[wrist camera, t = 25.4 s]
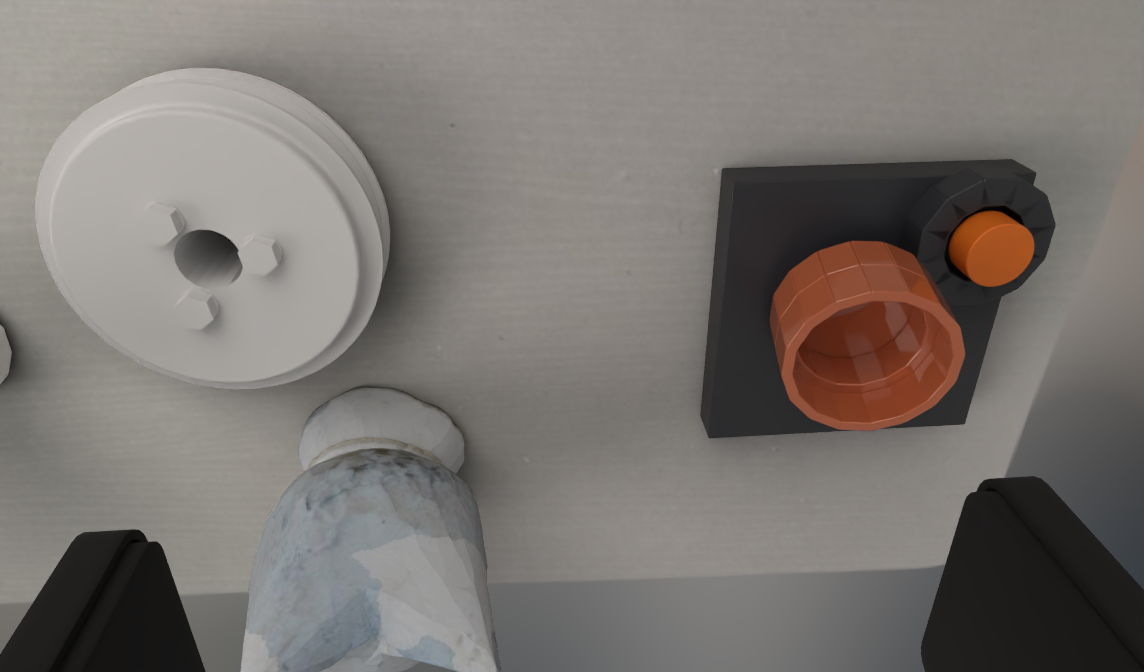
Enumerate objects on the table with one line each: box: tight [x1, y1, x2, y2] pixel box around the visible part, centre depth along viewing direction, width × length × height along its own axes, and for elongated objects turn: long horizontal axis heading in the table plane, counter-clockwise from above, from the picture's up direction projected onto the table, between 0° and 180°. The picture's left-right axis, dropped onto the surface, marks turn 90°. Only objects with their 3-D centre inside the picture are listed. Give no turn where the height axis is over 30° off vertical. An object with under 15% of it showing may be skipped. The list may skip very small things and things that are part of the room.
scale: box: [700, 159, 1055, 438], centre depth 37 cm, size 13×13×4 cm
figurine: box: [240, 387, 501, 672], centre depth 34 cm, size 10×9×15 cm
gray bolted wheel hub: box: [35, 68, 390, 389], centre depth 32 cm, size 13×13×5 cm
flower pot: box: [769, 241, 965, 431], centre depth 34 cm, size 7×7×4 cm
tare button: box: [949, 211, 1034, 287], centre depth 33 cm, size 3×3×2 cm
